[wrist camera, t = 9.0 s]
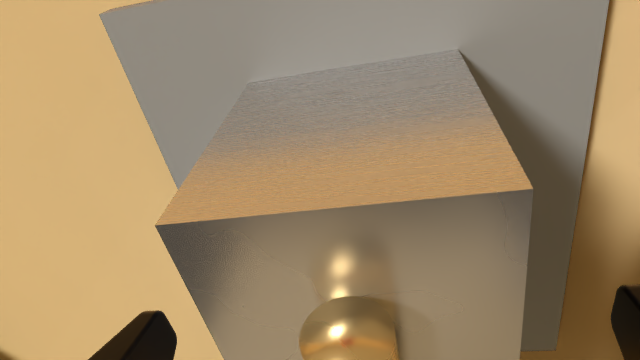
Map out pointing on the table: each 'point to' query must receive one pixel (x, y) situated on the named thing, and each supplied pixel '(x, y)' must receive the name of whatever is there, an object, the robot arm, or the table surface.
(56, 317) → the table surface
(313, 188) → the lever cap
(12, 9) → the table surface
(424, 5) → the rubber mat
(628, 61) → the table surface
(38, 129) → the table surface
